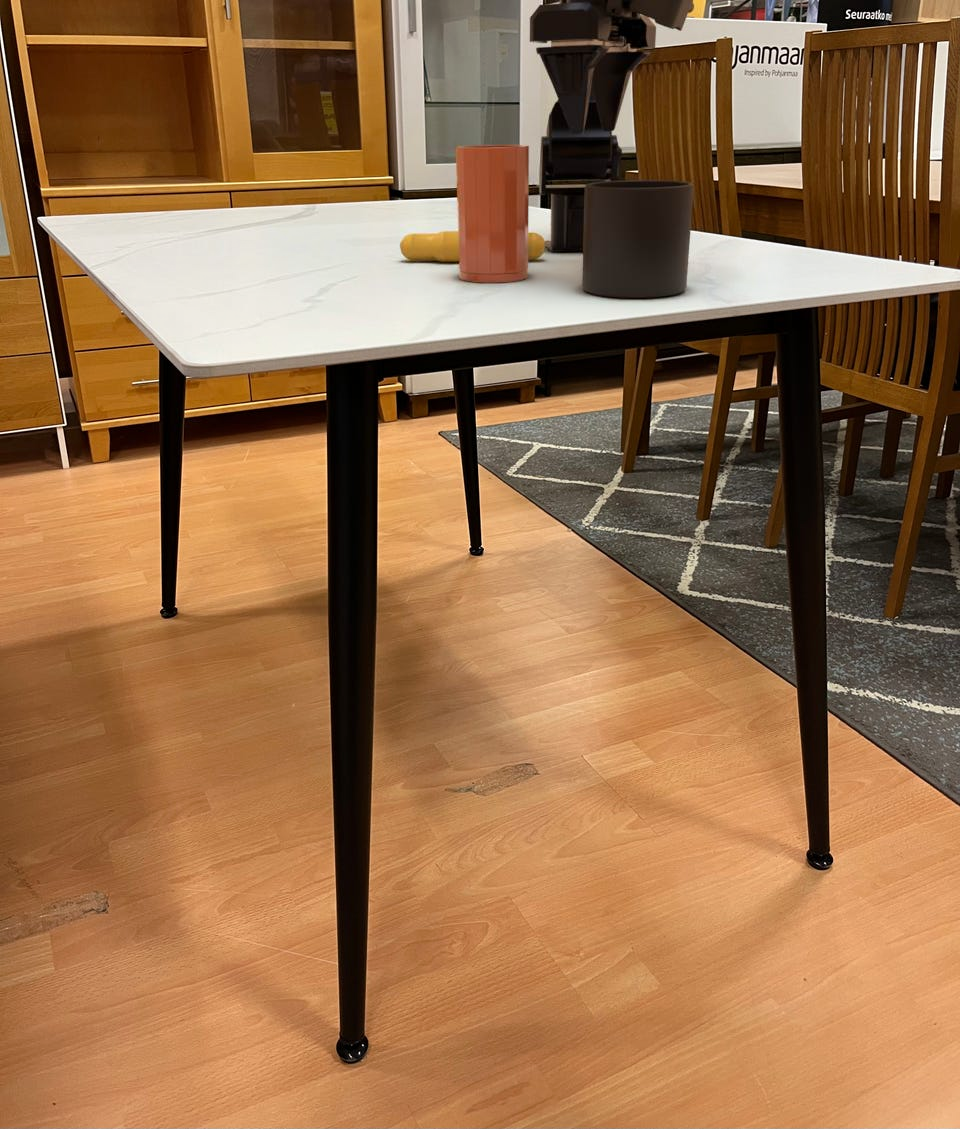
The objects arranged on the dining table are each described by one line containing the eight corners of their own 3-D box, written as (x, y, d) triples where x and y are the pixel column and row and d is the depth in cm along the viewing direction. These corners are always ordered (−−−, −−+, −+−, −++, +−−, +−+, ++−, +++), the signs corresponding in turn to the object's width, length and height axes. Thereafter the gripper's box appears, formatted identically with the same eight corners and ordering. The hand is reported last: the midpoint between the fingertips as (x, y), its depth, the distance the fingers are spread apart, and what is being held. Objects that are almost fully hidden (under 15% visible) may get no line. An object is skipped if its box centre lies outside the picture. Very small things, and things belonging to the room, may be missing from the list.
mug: (675, 276, 94) (682, 177, 90) (693, 298, 83) (701, 187, 79) (579, 277, 95) (581, 178, 91) (584, 299, 84) (587, 188, 80)
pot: (456, 273, 99) (453, 145, 93) (522, 270, 99) (522, 144, 94) (462, 283, 92) (459, 148, 87) (532, 281, 93) (533, 146, 88)
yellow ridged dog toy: (397, 264, 105) (395, 233, 103) (402, 259, 108) (400, 229, 107) (544, 263, 104) (545, 232, 102) (545, 258, 107) (545, 228, 106)
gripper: (660, -86, 74) (648, 134, 81) (714, -54, 90) (700, 129, 96) (527, -73, 79) (526, 135, 85) (600, -45, 94) (594, 130, 101)
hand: (593, 132), depth 92 cm, fingers open, 9 cm apart
